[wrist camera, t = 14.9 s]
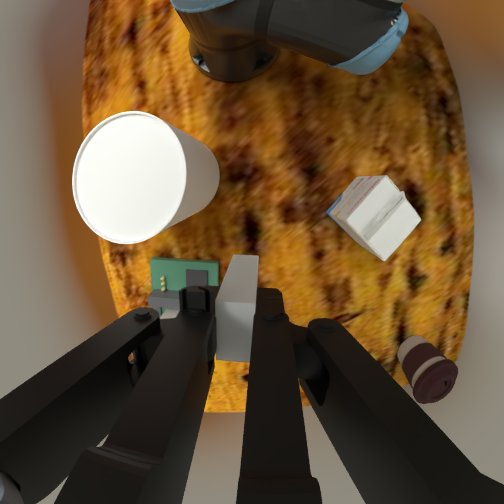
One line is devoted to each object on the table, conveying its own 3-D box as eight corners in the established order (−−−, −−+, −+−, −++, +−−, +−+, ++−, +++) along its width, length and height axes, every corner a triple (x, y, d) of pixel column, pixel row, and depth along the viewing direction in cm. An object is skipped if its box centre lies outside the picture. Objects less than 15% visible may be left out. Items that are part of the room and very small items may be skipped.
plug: (168, 305, 48) (153, 326, 40) (189, 307, 48) (177, 329, 40) (170, 325, 49) (156, 348, 42) (191, 327, 49) (179, 351, 41)
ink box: (357, 245, 46) (389, 269, 33) (324, 211, 44) (347, 224, 32) (389, 209, 44) (429, 221, 31) (357, 174, 43) (392, 174, 30)
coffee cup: (385, 368, 52) (410, 413, 38) (398, 330, 50) (430, 372, 35) (421, 363, 52) (449, 403, 37) (434, 327, 49) (469, 364, 35)
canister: (142, 141, 43) (72, 125, 23) (219, 134, 42) (186, 101, 23) (145, 218, 46) (77, 244, 27) (220, 215, 45) (189, 243, 26)
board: (153, 256, 48) (141, 265, 42) (219, 260, 47) (213, 270, 42) (160, 334, 52) (151, 348, 46) (219, 340, 51) (214, 356, 46)
